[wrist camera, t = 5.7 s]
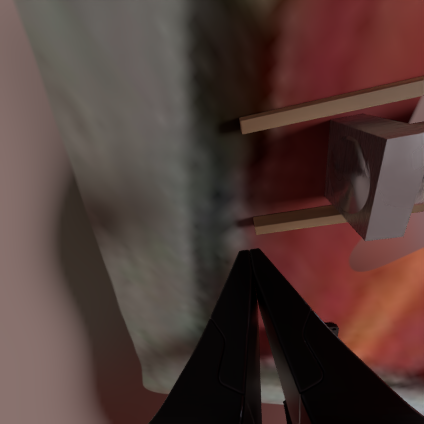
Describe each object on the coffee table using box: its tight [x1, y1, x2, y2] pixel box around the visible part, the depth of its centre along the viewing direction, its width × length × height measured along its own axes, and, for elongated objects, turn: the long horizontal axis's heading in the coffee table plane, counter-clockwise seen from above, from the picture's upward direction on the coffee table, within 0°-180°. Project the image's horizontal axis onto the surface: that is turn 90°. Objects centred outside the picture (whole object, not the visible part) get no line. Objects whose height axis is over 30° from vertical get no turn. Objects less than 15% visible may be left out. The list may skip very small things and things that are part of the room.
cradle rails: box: [239, 76, 424, 235], centre depth 15 cm, size 9×15×2 cm, turn 102°
